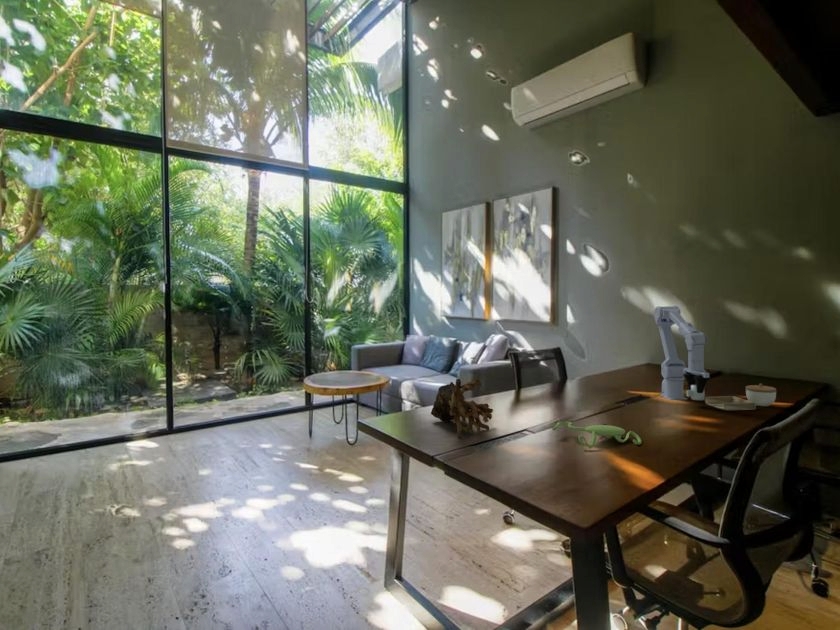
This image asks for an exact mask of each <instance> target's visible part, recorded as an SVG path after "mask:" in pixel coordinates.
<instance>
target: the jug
mask: <svg viewBox="0 0 840 630" xmlns="http://www.w3.org/2000/svg"><path fill="white" fill-rule="evenodd" d="M685 391H686V392H685V393H686V397H688V398H689V397H690V399H691V400H693V401H705V397H706V395H705V390H704V391H703V393H697V387H696V384H691V390H689V389H688V390H687V389H686V390H685Z"/></svg>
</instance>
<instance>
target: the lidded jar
mask: <svg viewBox="0 0 840 630" xmlns="http://www.w3.org/2000/svg"><path fill="white" fill-rule="evenodd" d="M758 384H759V385H758ZM758 384H754V385H753V384H751V385H746V386H745V394H746V395H745V396H746V398H747V399H746V400H748V401H751V402H754V403H756V407H757V406H759V407H770V406H771V405H773V403H774V402H775V401H776V397H777V388H775V387H774V386H768V385H763V383H758Z"/></svg>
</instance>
